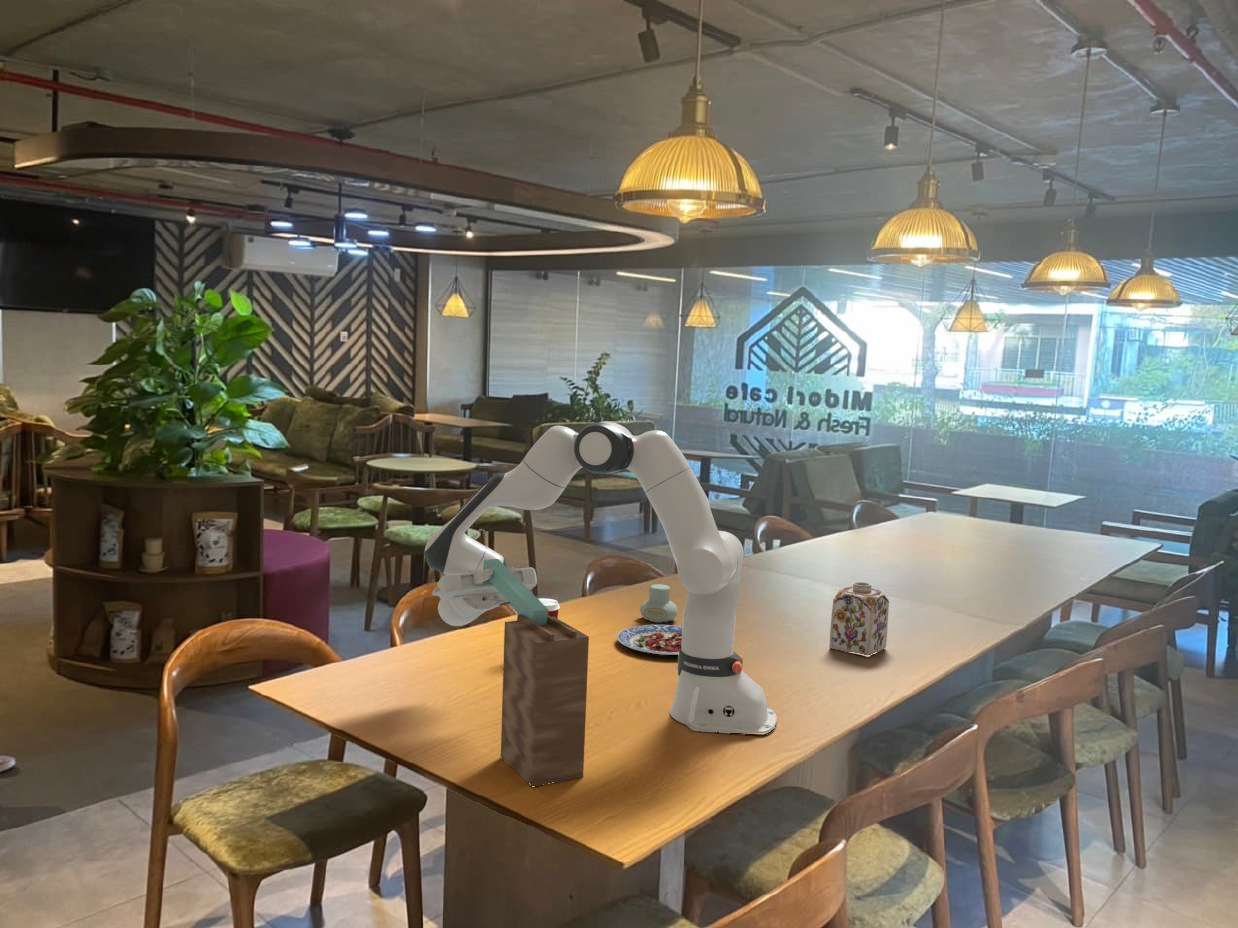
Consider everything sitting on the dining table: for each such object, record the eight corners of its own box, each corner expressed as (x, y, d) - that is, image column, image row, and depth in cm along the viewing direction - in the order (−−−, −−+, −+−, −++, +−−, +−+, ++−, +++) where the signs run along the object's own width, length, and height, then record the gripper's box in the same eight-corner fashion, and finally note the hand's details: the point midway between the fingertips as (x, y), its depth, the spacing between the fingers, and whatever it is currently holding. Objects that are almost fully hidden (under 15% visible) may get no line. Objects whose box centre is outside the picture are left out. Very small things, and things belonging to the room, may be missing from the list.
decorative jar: (869, 659, 250) (874, 591, 248) (827, 649, 257) (832, 583, 255) (887, 649, 260) (892, 583, 258) (846, 640, 267) (851, 576, 265)
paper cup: (558, 652, 245) (560, 598, 243) (557, 662, 237) (559, 606, 236) (527, 651, 244) (529, 597, 243) (525, 661, 237) (527, 605, 235)
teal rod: (482, 573, 195) (484, 559, 194) (496, 572, 196) (497, 558, 196) (531, 626, 175) (533, 611, 175) (546, 624, 177) (548, 609, 176)
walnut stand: (500, 757, 180) (504, 615, 177) (548, 748, 185) (553, 610, 182) (532, 787, 168) (537, 636, 165) (583, 777, 173) (589, 630, 170)
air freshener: (636, 621, 276) (637, 587, 275) (643, 614, 284) (645, 581, 283) (673, 626, 273) (675, 592, 272) (680, 619, 281) (681, 585, 279)
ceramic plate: (715, 636, 266) (715, 625, 265) (714, 665, 240) (714, 654, 240) (622, 629, 268) (622, 619, 268) (611, 658, 243) (612, 646, 243)
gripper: (427, 580, 197) (448, 560, 186) (518, 573, 208) (544, 553, 197) (431, 610, 195) (453, 591, 184) (523, 601, 206) (549, 582, 195)
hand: (501, 571), depth 191 cm, fingers closed on teal rod, 3 cm apart
